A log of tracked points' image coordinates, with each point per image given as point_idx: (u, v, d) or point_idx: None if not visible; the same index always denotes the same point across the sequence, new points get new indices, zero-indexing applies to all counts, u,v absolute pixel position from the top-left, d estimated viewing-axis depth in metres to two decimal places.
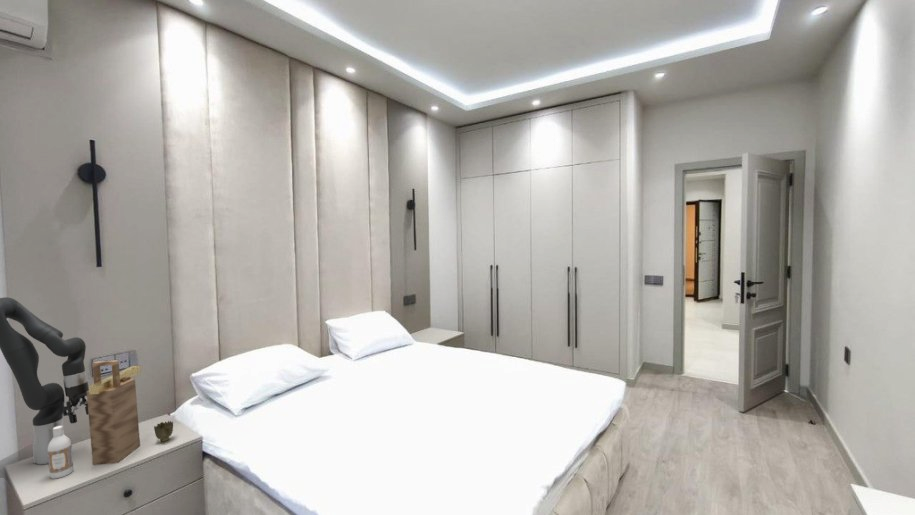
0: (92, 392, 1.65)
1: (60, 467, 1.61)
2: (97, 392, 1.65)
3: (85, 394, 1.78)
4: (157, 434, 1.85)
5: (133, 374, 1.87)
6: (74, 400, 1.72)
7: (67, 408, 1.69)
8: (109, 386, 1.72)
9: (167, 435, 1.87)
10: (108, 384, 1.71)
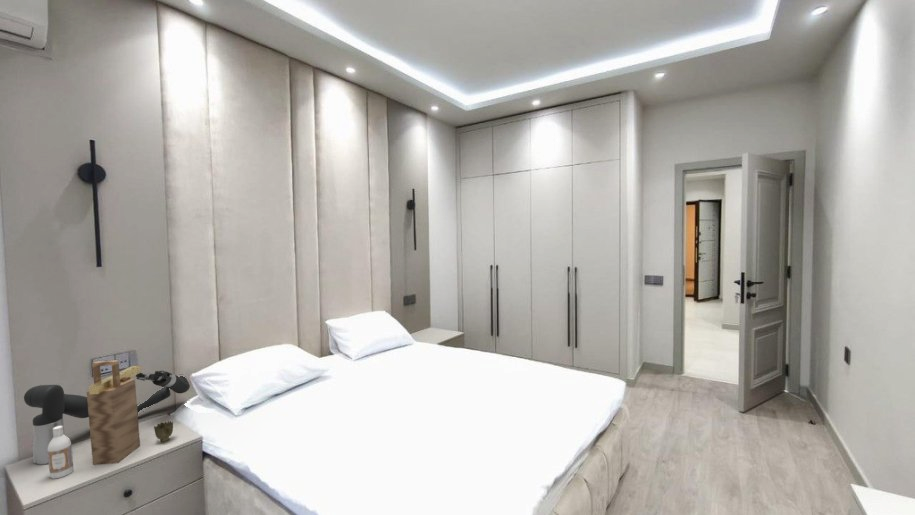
0: (92, 392, 1.65)
1: (60, 467, 1.61)
2: (97, 392, 1.65)
3: None
4: (157, 434, 1.85)
5: (133, 374, 1.87)
6: None
7: None
8: (109, 386, 1.72)
9: (167, 435, 1.87)
10: (108, 384, 1.71)
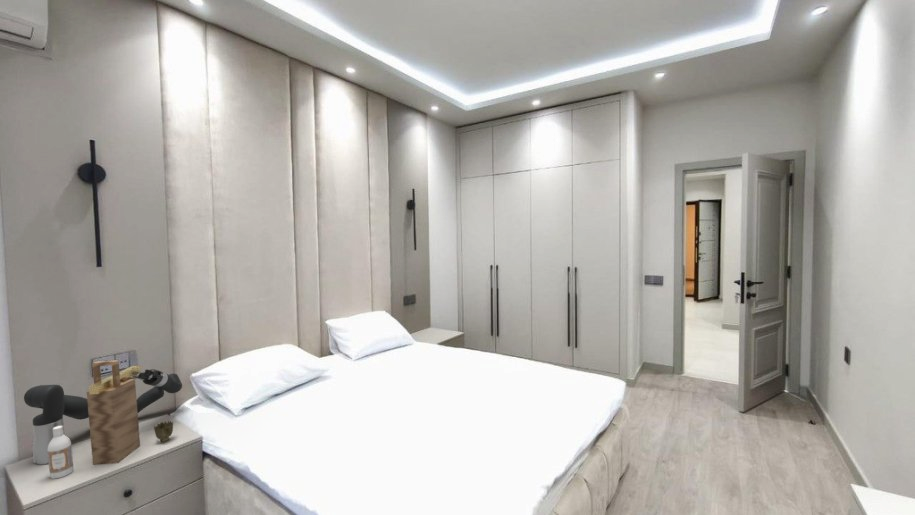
0: (92, 392, 1.65)
1: (60, 467, 1.61)
2: (97, 392, 1.65)
3: None
4: (157, 434, 1.85)
5: (133, 374, 1.87)
6: None
7: None
8: (109, 386, 1.72)
9: (167, 435, 1.87)
10: (108, 384, 1.71)
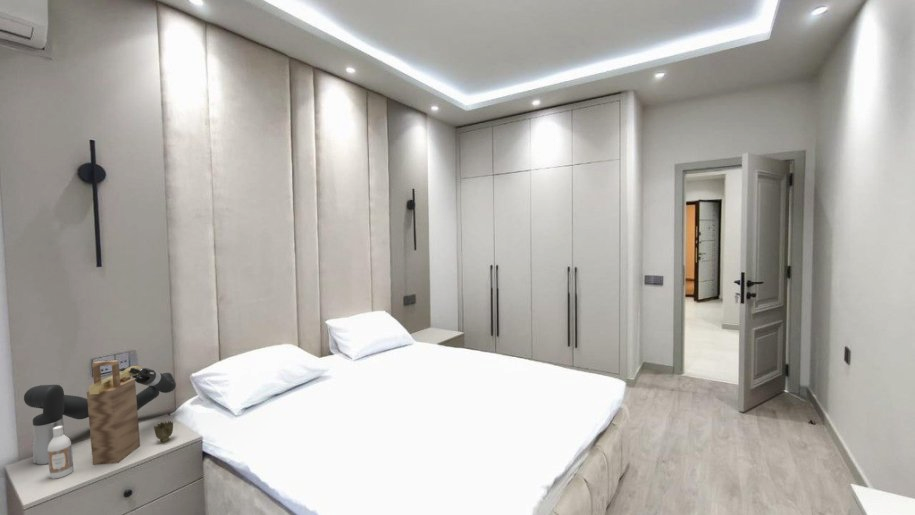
0: (92, 392, 1.65)
1: (60, 467, 1.61)
2: (97, 392, 1.65)
3: None
4: (157, 434, 1.85)
5: (133, 374, 1.87)
6: None
7: None
8: (109, 386, 1.72)
9: (167, 435, 1.87)
10: (108, 384, 1.71)
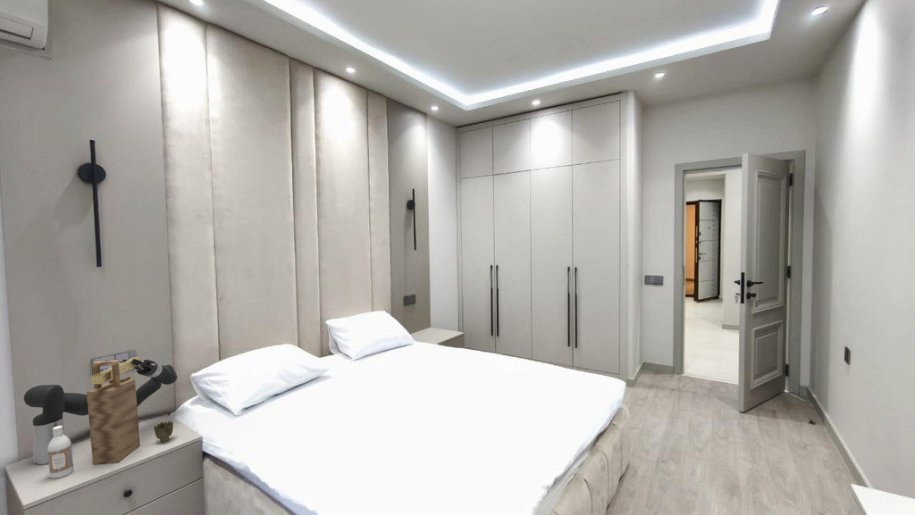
0: (94, 382, 1.66)
1: (60, 467, 1.61)
2: (99, 382, 1.67)
3: None
4: (157, 434, 1.85)
5: (135, 365, 1.88)
6: None
7: None
8: (111, 376, 1.73)
9: (167, 435, 1.87)
10: (110, 375, 1.72)
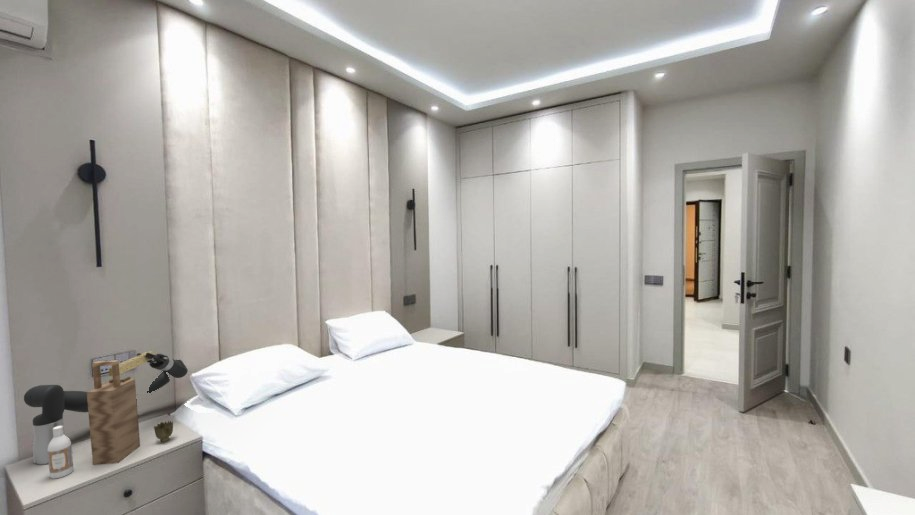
0: None
1: (60, 467, 1.61)
2: None
3: None
4: (157, 434, 1.85)
5: (148, 359, 1.98)
6: None
7: None
8: (127, 369, 1.83)
9: (167, 435, 1.87)
10: (127, 367, 1.82)
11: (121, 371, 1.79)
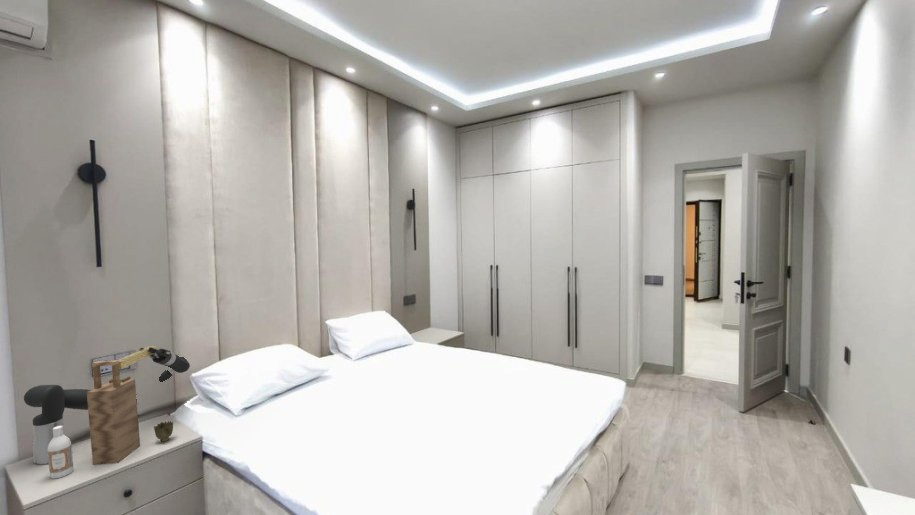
0: None
1: (60, 467, 1.61)
2: (120, 367, 1.79)
3: None
4: (157, 434, 1.85)
5: (151, 353, 2.00)
6: None
7: None
8: (130, 363, 1.85)
9: (167, 435, 1.87)
10: (130, 361, 1.85)
11: (124, 365, 1.81)
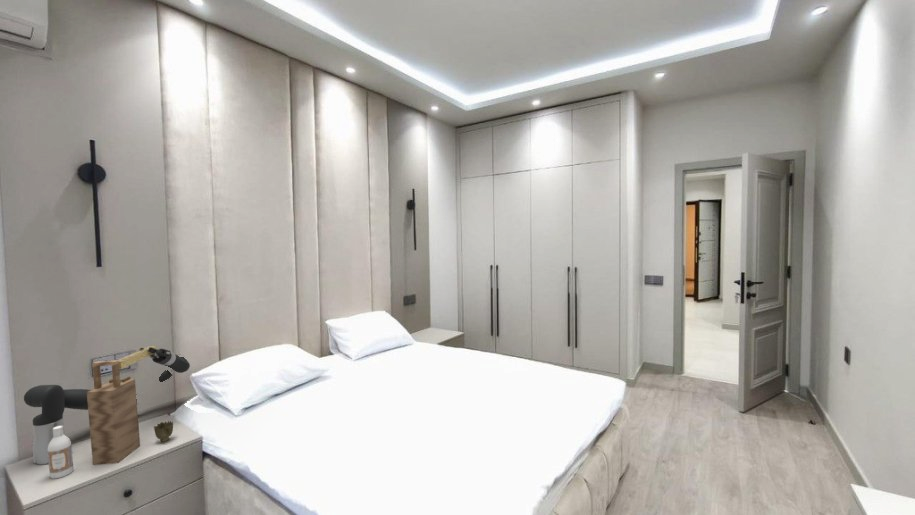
0: None
1: (60, 467, 1.61)
2: (120, 367, 1.79)
3: None
4: (157, 434, 1.85)
5: (151, 353, 2.00)
6: None
7: None
8: (130, 363, 1.85)
9: (167, 435, 1.87)
10: (130, 361, 1.85)
11: (124, 365, 1.81)
